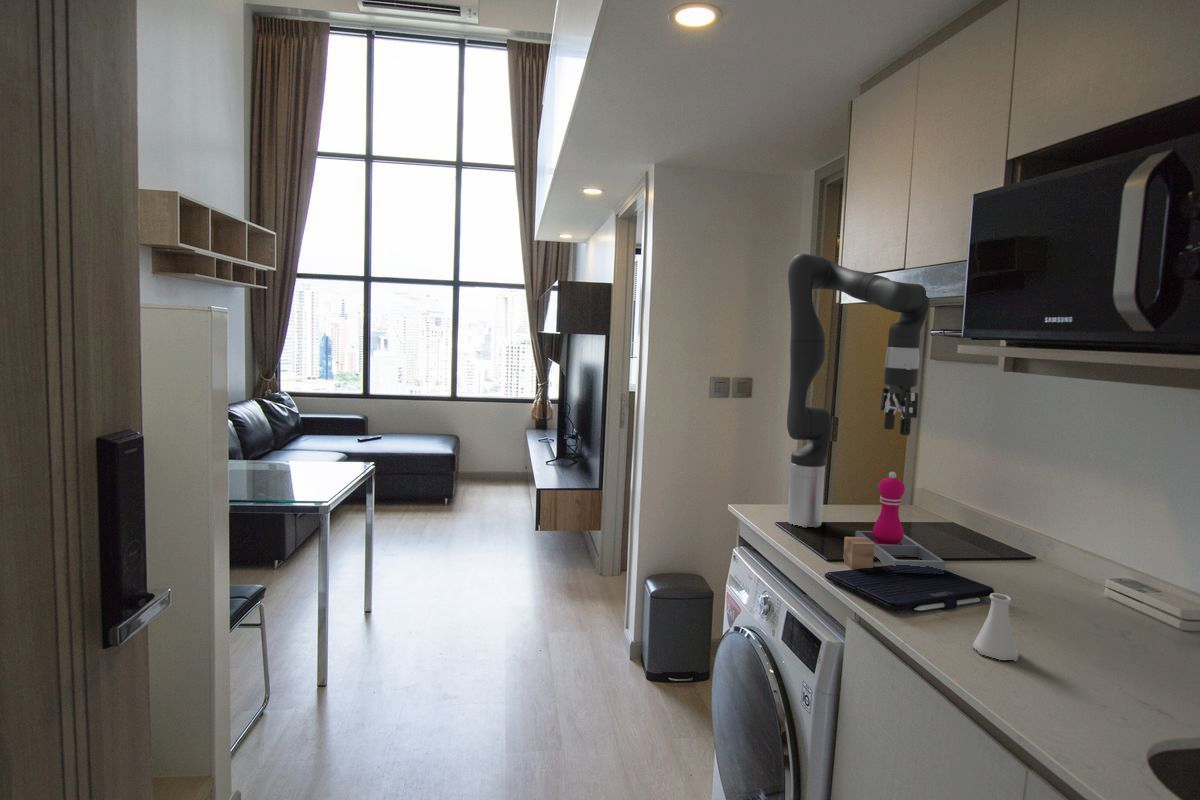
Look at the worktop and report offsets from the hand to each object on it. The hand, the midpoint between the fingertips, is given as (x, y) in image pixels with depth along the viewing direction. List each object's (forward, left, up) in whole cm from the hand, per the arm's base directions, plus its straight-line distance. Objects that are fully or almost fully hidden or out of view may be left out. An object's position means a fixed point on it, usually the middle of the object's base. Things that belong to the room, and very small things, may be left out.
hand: (896, 432), depth 165 cm
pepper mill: (0, 0, -30) cm, 30 cm away
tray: (+5, 0, -30) cm, 30 cm away
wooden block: (+11, -12, -30) cm, 34 cm away
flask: (+53, -5, -30) cm, 61 cm away
